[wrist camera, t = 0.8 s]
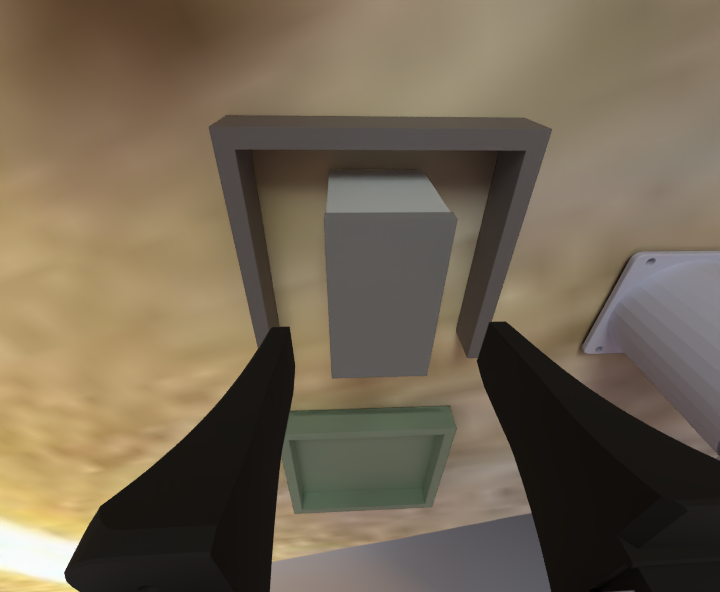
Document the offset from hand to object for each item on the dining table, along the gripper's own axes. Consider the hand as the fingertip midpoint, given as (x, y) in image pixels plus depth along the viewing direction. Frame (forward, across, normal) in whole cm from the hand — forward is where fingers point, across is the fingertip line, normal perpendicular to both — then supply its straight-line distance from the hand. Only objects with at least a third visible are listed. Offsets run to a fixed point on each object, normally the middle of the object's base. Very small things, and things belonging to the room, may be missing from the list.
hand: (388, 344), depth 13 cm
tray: (+8, 0, +22) cm, 23 cm away
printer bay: (+8, 0, 0) cm, 8 cm away
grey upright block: (+8, 0, 0) cm, 8 cm away
